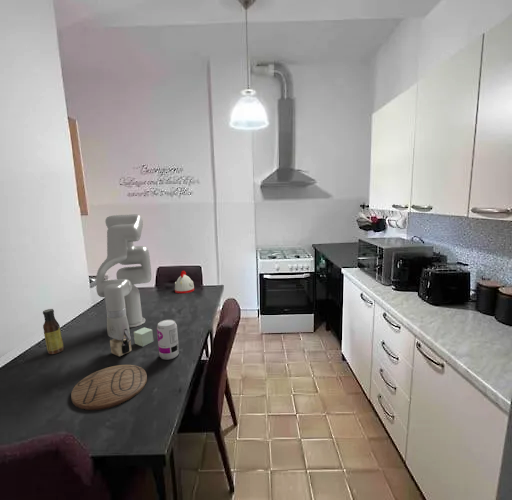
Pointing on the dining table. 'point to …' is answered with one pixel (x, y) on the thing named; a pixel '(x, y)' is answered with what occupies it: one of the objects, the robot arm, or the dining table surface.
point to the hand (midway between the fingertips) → (121, 350)
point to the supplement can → (167, 339)
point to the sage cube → (143, 336)
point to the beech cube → (118, 347)
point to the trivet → (108, 387)
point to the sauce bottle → (52, 332)
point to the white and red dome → (184, 284)
